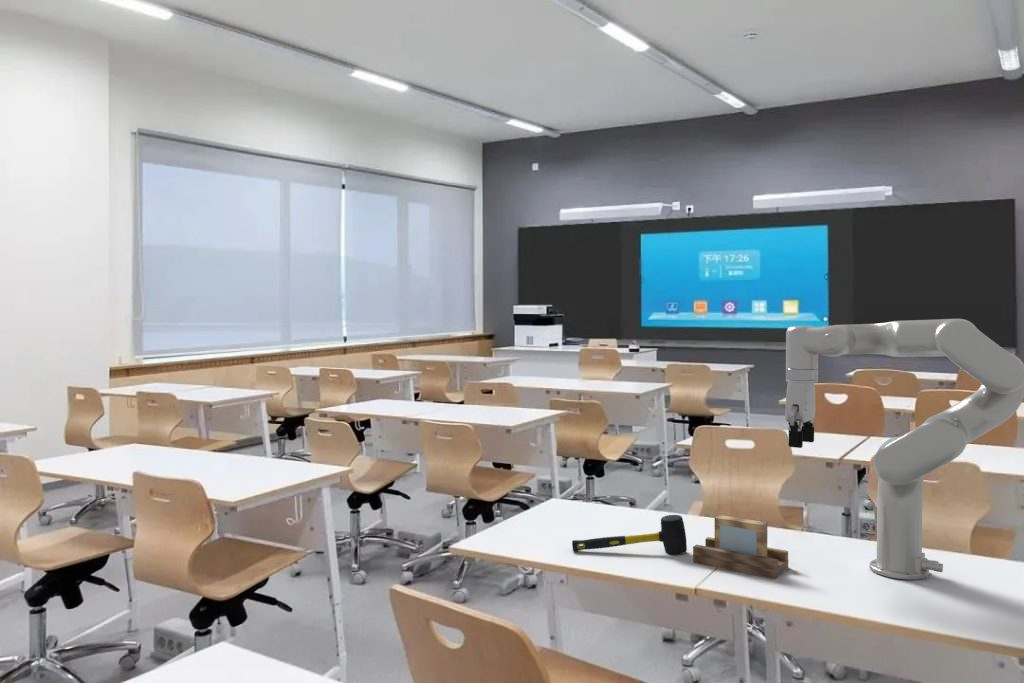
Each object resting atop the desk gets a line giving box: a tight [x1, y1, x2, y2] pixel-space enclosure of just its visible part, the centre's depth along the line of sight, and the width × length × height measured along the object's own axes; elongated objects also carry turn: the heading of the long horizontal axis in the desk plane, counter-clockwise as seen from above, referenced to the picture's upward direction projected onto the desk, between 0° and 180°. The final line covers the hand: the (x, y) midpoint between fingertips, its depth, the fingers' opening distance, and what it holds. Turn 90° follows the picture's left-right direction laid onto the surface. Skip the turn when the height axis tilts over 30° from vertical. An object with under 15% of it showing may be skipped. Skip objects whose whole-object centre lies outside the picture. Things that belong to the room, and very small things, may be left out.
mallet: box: [571, 514, 688, 556], centre depth 202 cm, size 29×6×10 cm, turn 87°
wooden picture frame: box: [714, 514, 768, 557], centre depth 190 cm, size 12×3×9 cm, turn 53°
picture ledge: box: [692, 536, 789, 580], centre depth 190 cm, size 20×10×4 cm, turn 54°
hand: (801, 444), depth 196 cm, fingers open, 9 cm apart
